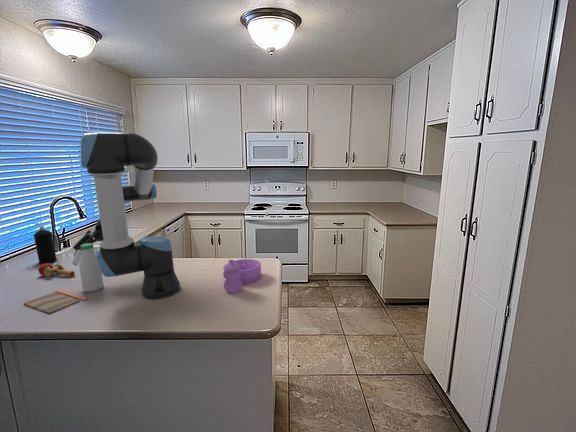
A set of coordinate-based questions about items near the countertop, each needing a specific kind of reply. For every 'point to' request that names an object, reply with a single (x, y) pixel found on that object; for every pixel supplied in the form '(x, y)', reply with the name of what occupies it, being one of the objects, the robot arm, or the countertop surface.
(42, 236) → the aerosol can
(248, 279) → the container set
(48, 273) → the kendama
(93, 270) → the milk bottle
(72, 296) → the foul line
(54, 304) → the board
